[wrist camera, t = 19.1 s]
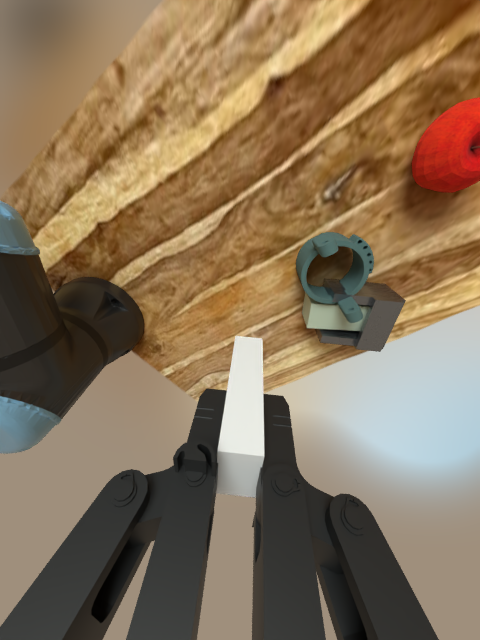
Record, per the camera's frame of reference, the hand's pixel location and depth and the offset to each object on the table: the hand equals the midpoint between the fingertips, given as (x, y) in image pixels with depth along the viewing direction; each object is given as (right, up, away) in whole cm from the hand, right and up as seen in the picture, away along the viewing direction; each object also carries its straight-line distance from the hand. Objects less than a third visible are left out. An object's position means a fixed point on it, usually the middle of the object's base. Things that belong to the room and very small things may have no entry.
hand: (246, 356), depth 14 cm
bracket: (+12, +11, +20) cm, 26 cm away
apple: (+22, +22, +14) cm, 34 cm away
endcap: (+16, +5, +24) cm, 29 cm away
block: (+15, +5, +24) cm, 29 cm away
